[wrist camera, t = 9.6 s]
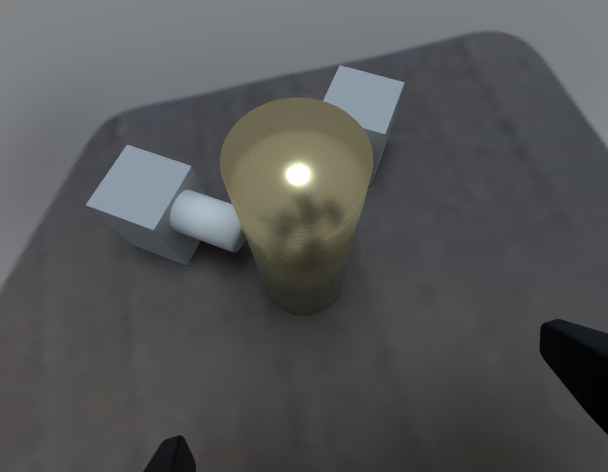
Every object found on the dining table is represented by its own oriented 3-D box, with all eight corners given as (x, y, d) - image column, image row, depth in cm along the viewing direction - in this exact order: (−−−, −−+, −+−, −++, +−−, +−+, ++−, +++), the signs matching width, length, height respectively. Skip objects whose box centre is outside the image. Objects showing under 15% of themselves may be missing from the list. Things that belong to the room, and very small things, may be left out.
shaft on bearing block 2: (334, 125, 28) (339, 65, 23) (387, 141, 27) (404, 82, 22) (294, 218, 25) (289, 172, 20) (352, 238, 24) (362, 195, 19)
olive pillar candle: (346, 311, 22) (384, 219, 11) (266, 317, 22) (218, 231, 11) (338, 237, 24) (362, 92, 13) (263, 243, 24) (221, 102, 13)
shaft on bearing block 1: (132, 245, 24) (85, 205, 19) (163, 194, 26) (127, 144, 21) (239, 285, 23) (218, 254, 18) (265, 230, 25) (253, 186, 19)
